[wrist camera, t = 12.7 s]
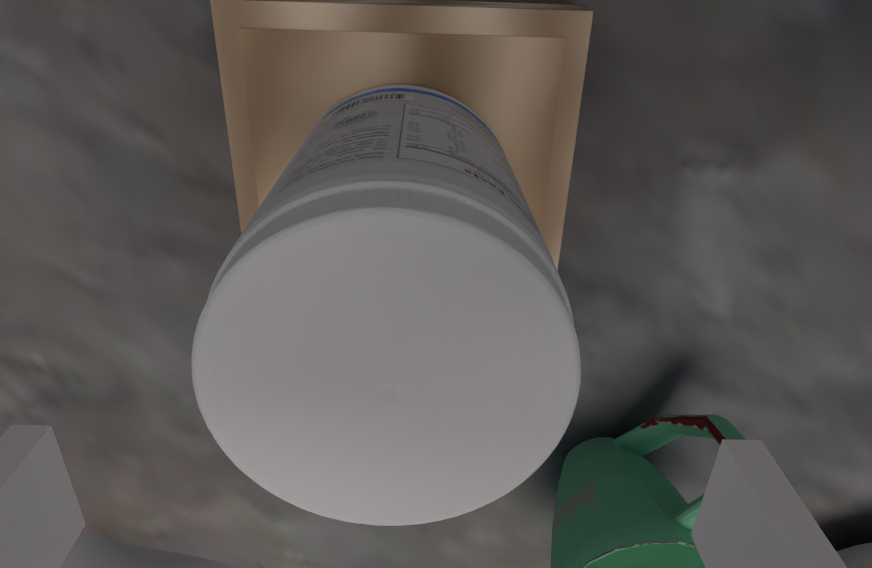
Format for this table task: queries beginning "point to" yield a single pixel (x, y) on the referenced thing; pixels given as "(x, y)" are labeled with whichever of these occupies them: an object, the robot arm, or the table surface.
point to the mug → (628, 500)
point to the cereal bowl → (857, 556)
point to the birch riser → (404, 80)
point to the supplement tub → (389, 321)
